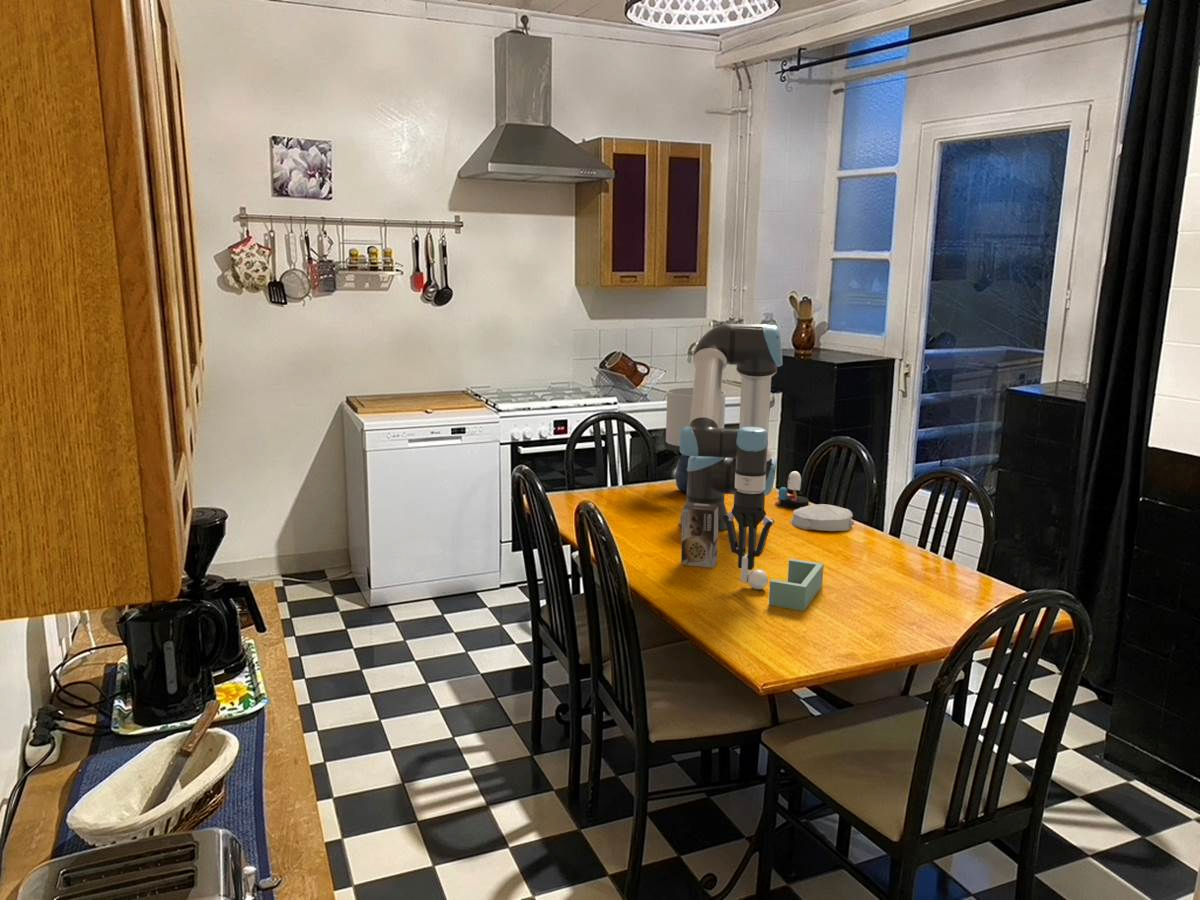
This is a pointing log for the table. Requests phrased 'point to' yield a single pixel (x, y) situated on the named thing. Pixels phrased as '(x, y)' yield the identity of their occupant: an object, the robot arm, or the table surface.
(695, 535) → the coffee box
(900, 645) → the table surface
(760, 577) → the ball
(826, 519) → the food container
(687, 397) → the lamp
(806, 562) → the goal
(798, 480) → the figurine
